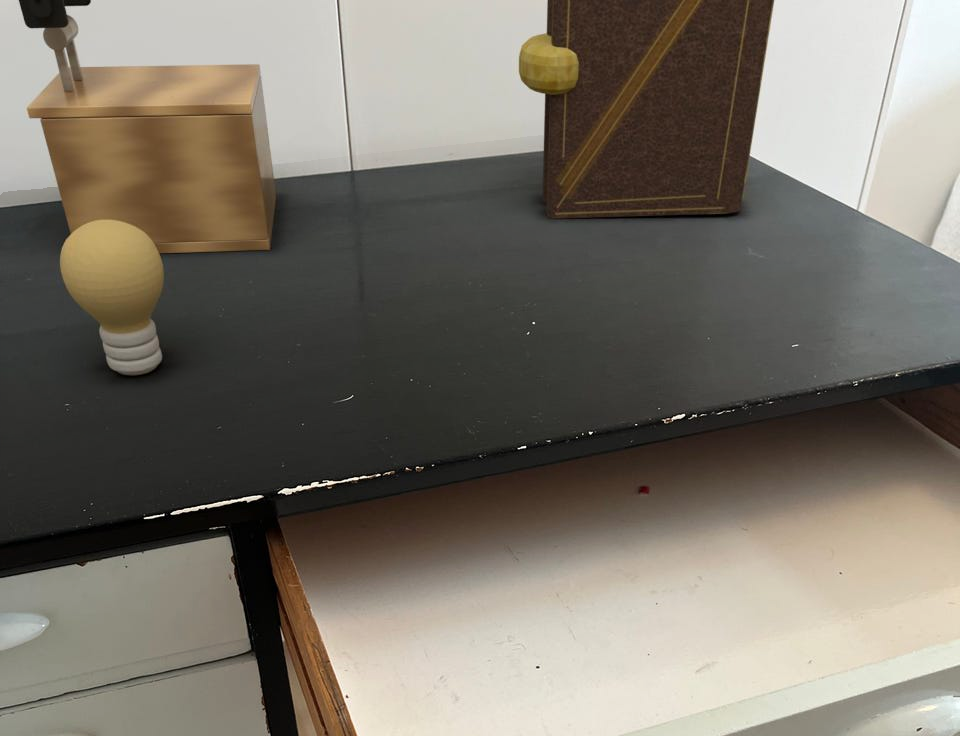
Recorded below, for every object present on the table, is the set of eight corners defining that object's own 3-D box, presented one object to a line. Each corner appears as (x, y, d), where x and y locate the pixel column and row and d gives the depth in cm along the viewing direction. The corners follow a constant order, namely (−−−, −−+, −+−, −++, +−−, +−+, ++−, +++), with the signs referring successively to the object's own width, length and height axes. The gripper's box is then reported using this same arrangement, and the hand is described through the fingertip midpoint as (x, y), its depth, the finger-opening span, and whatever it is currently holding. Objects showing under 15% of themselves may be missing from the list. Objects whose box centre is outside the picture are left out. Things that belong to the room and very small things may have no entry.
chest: (76, 256, 84) (39, 119, 77) (105, 202, 95) (75, 77, 88) (270, 249, 86) (251, 114, 79) (276, 197, 97) (260, 74, 90)
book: (728, 188, 99) (774, -121, 82) (749, 216, 92) (803, -113, 76) (514, 194, 98) (517, -115, 82) (520, 223, 92) (524, -107, 75)
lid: (29, 118, 77) (6, 37, 73) (66, 77, 88) (48, 4, 84) (251, 114, 79) (241, 34, 75) (260, 73, 90) (251, 2, 86)
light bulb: (123, 343, 71) (88, 201, 65) (199, 355, 70) (171, 212, 63) (71, 380, 67) (27, 233, 60) (151, 394, 65) (115, 245, 59)
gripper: (-33, -267, 73) (37, -1, 85) (-108, -277, 61) (-14, 38, 72) (68, -267, 74) (123, -3, 86) (14, -277, 61) (88, 35, 73)
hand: (60, 15), depth 79 cm, fingers open, 9 cm apart
